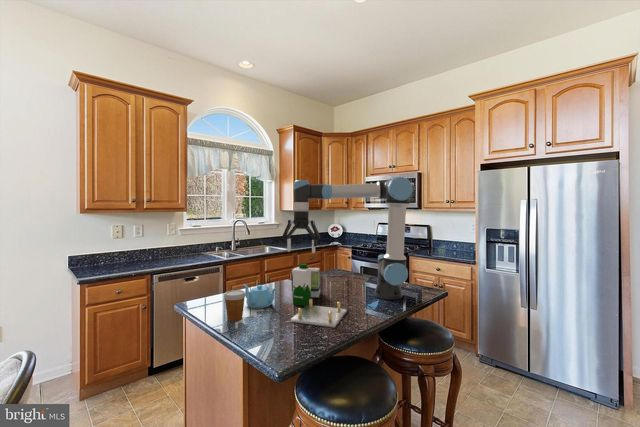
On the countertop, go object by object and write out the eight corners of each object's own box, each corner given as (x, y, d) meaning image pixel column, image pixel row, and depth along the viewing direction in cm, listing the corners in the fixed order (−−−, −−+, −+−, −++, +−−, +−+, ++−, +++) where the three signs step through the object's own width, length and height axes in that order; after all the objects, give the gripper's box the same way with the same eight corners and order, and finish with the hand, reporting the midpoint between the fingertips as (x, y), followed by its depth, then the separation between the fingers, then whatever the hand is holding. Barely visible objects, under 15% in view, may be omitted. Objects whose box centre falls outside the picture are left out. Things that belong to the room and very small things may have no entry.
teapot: (271, 299, 170) (270, 280, 169) (277, 308, 156) (277, 287, 155) (243, 303, 164) (243, 283, 164) (247, 312, 150) (247, 291, 150)
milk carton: (312, 301, 166) (312, 263, 166) (305, 306, 158) (305, 267, 157) (297, 299, 170) (297, 262, 169) (290, 304, 161) (289, 265, 160)
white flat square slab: (346, 311, 151) (346, 300, 151) (334, 327, 132) (334, 315, 132) (307, 307, 157) (307, 296, 157) (290, 321, 138) (290, 310, 138)
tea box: (320, 292, 182) (320, 267, 182) (318, 298, 172) (318, 271, 172) (294, 292, 184) (294, 266, 183) (291, 297, 174) (291, 270, 173)
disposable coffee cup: (227, 315, 147) (227, 289, 146) (248, 315, 146) (248, 289, 146) (220, 323, 137) (220, 295, 137) (242, 323, 137) (242, 295, 136)
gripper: (326, 210, 161) (326, 252, 162) (282, 210, 169) (282, 249, 170) (322, 211, 154) (321, 254, 155) (275, 210, 162) (276, 251, 163)
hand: (301, 252), depth 163 cm, fingers open, 13 cm apart
